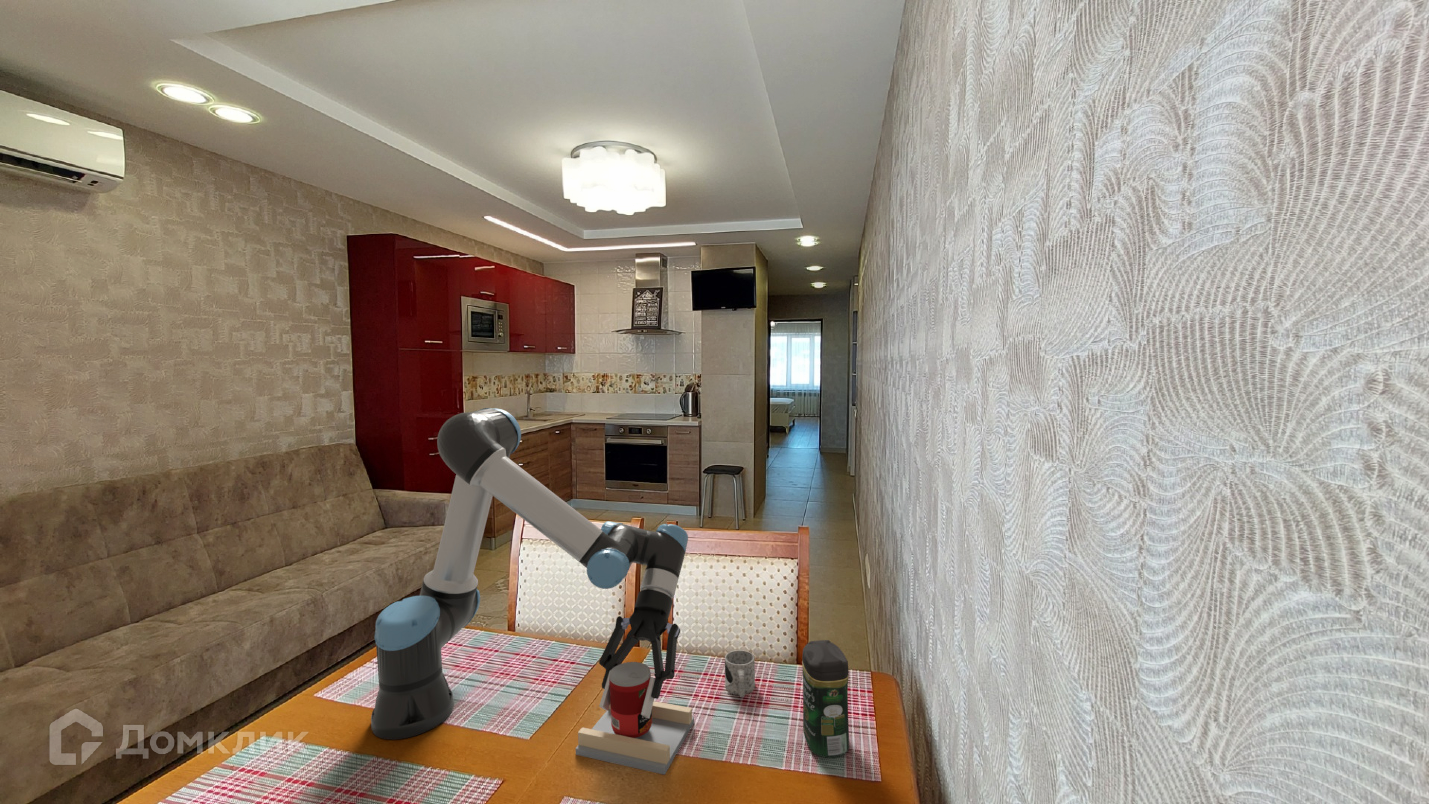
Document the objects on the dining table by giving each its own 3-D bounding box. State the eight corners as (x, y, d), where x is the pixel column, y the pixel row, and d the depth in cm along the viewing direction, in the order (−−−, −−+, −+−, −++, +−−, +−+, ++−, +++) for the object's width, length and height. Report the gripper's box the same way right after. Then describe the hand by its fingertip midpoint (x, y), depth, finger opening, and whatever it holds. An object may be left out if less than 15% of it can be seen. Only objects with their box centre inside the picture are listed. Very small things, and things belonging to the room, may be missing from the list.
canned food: (647, 741, 105) (645, 684, 105) (605, 738, 106) (603, 682, 106) (656, 715, 113) (654, 662, 112) (618, 712, 114) (615, 660, 113)
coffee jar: (798, 728, 112) (797, 637, 111) (837, 724, 113) (836, 634, 111) (812, 762, 102) (811, 663, 101) (854, 758, 103) (854, 660, 102)
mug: (724, 678, 130) (724, 650, 130) (753, 677, 130) (752, 649, 130) (726, 704, 120) (726, 674, 120) (758, 703, 120) (757, 673, 120)
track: (575, 754, 106) (575, 735, 105) (614, 707, 120) (613, 690, 120) (664, 774, 100) (664, 754, 100) (694, 722, 114) (693, 705, 114)
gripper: (706, 607, 120) (681, 727, 106) (618, 596, 127) (583, 708, 113) (697, 593, 115) (669, 717, 101) (606, 582, 121) (567, 698, 107)
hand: (624, 712), depth 107 cm, fingers closed on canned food, 8 cm apart
